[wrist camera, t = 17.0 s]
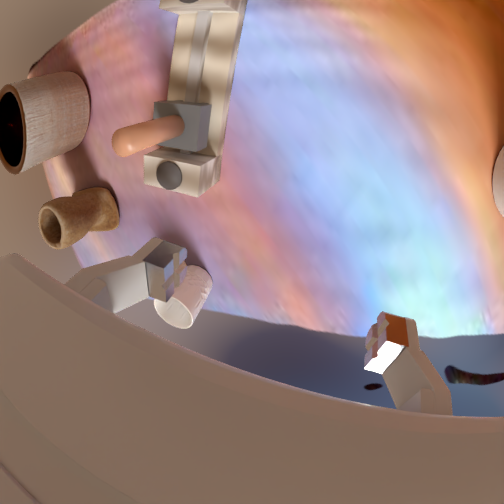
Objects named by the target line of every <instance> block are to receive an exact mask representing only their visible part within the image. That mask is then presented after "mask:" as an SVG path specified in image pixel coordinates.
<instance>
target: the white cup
mask: <svg viewBox="0 0 504 504" xmlns="http://www.w3.org/2000/svg"><path fill="white" fill-rule="evenodd" d="M212 284H213V282H212V279H211V276H210V275H209V274H208V273H207V271H206V270H204V269H202V268H201V267H199V266H195V265H189V266H187V272H186V276H185V278H184V281H183V282H182V284H181V285H180V286H178V287H176V288H174V294H173V295H172V296H171V298H170V299H169V300H168V302H167V303H165V302H163V301H160V300H158V299H154V307H155V309H156V311H157V313H158V314H159V315H160V316H161V318H162V319H163V320H165V321H166V322H167V323H169V324H170V325H173V326H174V327H178V328H189V327H190V326H191V325H192V324H193V322H194V320H195V318H196V317H197V315H198V313H199V311H200V310H201V308H202V306H203V304H204V302H205V300H206V298H207V296H208V294H209V292H210V291H211V289H212Z"/></svg>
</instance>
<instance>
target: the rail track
mask: <svg viewBox="0 0 504 504" xmlns="http://www.w3.org/2000/svg"><path fill="white" fill-rule="evenodd" d="M246 5H247V0H160V5H159V9H163V10H166V11H170V12H173V13H176V14H179V18H178V24H177V29H176V35H175V41H174V48H173V55H172V62H171V70H170V78H169V87H168V97H167V100H172V101H175V100H183V101H184V102H194V103H203V102H204V103H208V104H211V105H212V108H211V116H210V124H209V132H208V141H207V147H206V148H204V149H202V150H200V151H197V152H194V151H188V150H183V149H178V148H172V147H166V146H164V147H162V148H160V149H157V150H155V151H152V152H150V153H148V154H145V155H144V184H147V185H151V186H155V187H159V188H163V189H167V190H171V191H175V192H179V193H183V194H187V195H191V196H194V197H199V196H200V195H202V194H203V193H204V192H205V191H207V190H208V189H209V188H211V187H212V186H213V185H214V184H216V183H217V182H218V181H219V178H220V169H221V161H222V153H223V145H224V138H225V130H226V123H227V116H228V109H229V102H230V96H231V89H232V83H233V77H234V71H235V65H236V59H237V53H238V47H239V42H240V36H241V31H242V26H243V20H244V15H245V10H246Z"/></svg>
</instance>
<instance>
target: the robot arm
mask: <svg viewBox="0 0 504 504" xmlns="http://www.w3.org/2000/svg"><path fill="white" fill-rule="evenodd" d="M493 195H494V200H495V203H496V206H497V208H498V210H499V212H500V213H501V215H502V216H503V217H504V146H503V148H502V149H501V151H500V153H499V155H498V157H497V160H496V163H495V167H494V172H493ZM186 257H187V250H186V248H184V247H181V246H178V245H176V244H173V243H170V242H168V241H164V240H162V239H159V238H156V237H155V238H152V239H151V240H150V241H149V242H147V243H146V244H145V245H144V246H143V247H142V248H141V249H140V250H138V251H137V252H136V253H135V254H134V255H133V256H125V257H122V258H118V259H115V260H111V261H108V262H104V263H101V264H97V265H94V266H90V267H87V268H83V269H81V270H80V271H79V272H78V273H77V274H75V275H74V276H73V277H72V278H71V279H70V280H69V281H68V282H67V283H66V284H62V283H60V282H59V281H57V280H56V279H54V278H53V277H51V276H50V275H48V274H47V273H45V272H44V271H42V270H41V269H39V268H38V267H36V266H35V265H34V264H32V263H31V262H29V261H28V260H26V259H25V258H24V257H22V256H21V255H19V254H16V253H13V254H8V255H5V256H2V257H0V504H504V417H464V416H453V415H452V403H451V394H450V391H449V389H448V387H447V386H446V384H445V383H444V381H443V380H442V379H441V377H440V375H439V374H438V372H437V371H436V369H435V368H434V366H433V365H432V363H431V362H430V361H429V359H428V358H427V356H426V355H425V353H424V352H423V351H421V350H420V348H419V347H420V346H419V340H418V333H417V327H416V322H415V320H413V319H409V318H406V317H401V316H397V315H394V314H391V313H387V312H384V311H382V312H381V313H380V314H379V316H378V317H377V323H376V324H374V325H372V326H371V328H370V330H369V332H368V334H367V337H366V342H365V344H366V345H365V347H366V349H367V350H368V352H367V354H366V355H365V366H364V369H368V370H371V371H375V372H379V373H382V376H383V378H384V380H385V382H386V385H387V387H388V389H389V392H390V394H391V396H392V399H393V401H394V403H395V406H396V408H397V409H391V408H384V407H379V406H373V405H368V404H363V403H358V402H353V401H349V400H344V399H340V398H335V397H331V396H327V395H323V394H319V393H315V392H311V391H307V390H304V389H301V388H297V387H293V386H290V385H286V384H283V383H280V382H277V381H273V380H270V379H267V378H264V377H261V376H258V375H255V374H252V373H249V372H246V371H243V370H240V369H238V368H235V367H232V366H230V365H227V364H224V363H222V362H219V361H216V360H214V359H211V358H209V357H206V356H204V355H201V354H199V353H196V352H194V351H192V350H189V349H187V348H184V347H182V346H180V345H177V344H175V343H173V342H171V341H168V340H166V339H164V338H162V337H160V336H158V335H156V334H153V333H151V332H149V331H147V330H145V329H143V328H141V327H139V326H137V325H135V324H133V323H131V322H129V321H127V320H125V319H123V318H121V317H119V316H118V315H115V314H114V313H116V312H119V311H120V310H123V309H125V308H127V307H129V306H131V305H133V304H135V303H137V302H140V301H141V300H144V299H146V298H148V297H149V296H150V297H153V298H155V299H158V300H160V301H163V302H165V303H167V302H168V300H169V299H170V298H171V296H172V295H173V294H174V288H176V287H178V286H180V285H181V284H182V282H183V281H184V278H185V276H186V272H187V265H186V263H185V261H184V260H185V259H186Z"/></svg>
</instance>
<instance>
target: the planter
mask: <svg viewBox="0 0 504 504" xmlns="http://www.w3.org/2000/svg"><path fill="white" fill-rule="evenodd" d="M89 118H90V100H89V95H88V91H87V88H86V85H85V83H84V82H83V80H82V79H81V77H80V76H79V75H77V74H76V73H74V72H70V71H64V72H58V73H52V74H47V75H43V76H38V77H34V78H30V79H26V80H22V81H18V82H14V83H10V84H7V85H5V86H4V87H3V88H2V89H1V90H0V160H1V162H2V164H3V165H4V167H5V169H6V170H7V171H8V172H9V173H11V174H13V175H16V174H19V173H21V172H23V171H25V170H27V169H29V168H31V167H33V166H35V165H37V164H39V163H42V162H44V161H46V160H49V159H51V158H53V157H56V156H58V155H61V154H63V153H66V152H68V151H70V150H72V149H74V148H76V147H77V146H78V145H79V144H80V143H81V141H82V140H83V138H84V136H85V134H86V131H87V128H88V124H89Z"/></svg>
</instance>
